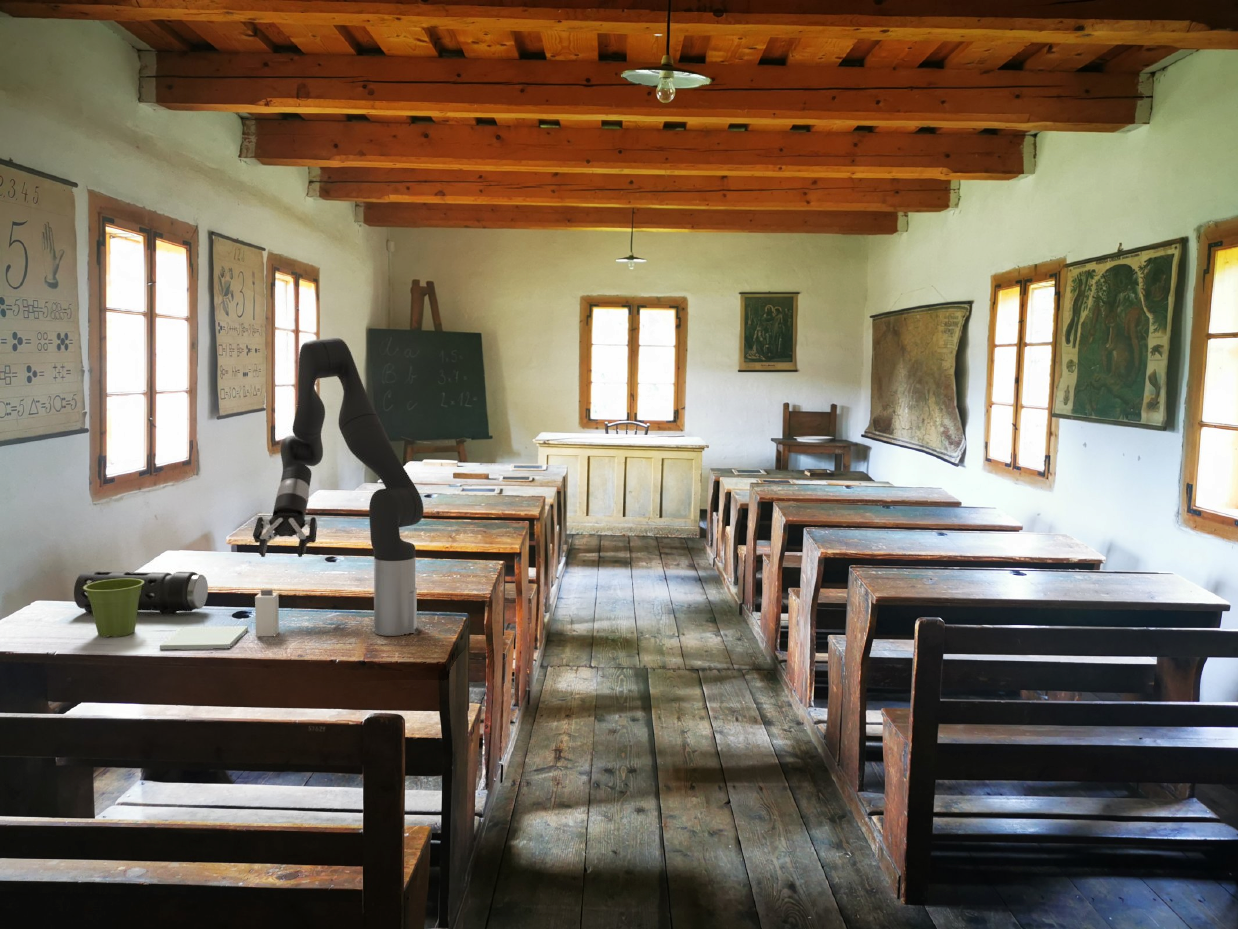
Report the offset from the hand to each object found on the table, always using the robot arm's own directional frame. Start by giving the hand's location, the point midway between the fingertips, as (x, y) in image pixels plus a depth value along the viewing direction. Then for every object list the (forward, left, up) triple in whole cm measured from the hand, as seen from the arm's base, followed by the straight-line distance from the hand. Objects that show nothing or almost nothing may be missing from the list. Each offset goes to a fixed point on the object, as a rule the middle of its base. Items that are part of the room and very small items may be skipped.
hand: (281, 555), depth 215 cm
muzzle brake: (+34, -7, -16) cm, 38 cm away
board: (+12, +17, -15) cm, 26 cm away
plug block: (0, +13, -15) cm, 20 cm away
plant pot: (+33, +11, -16) cm, 38 cm away
